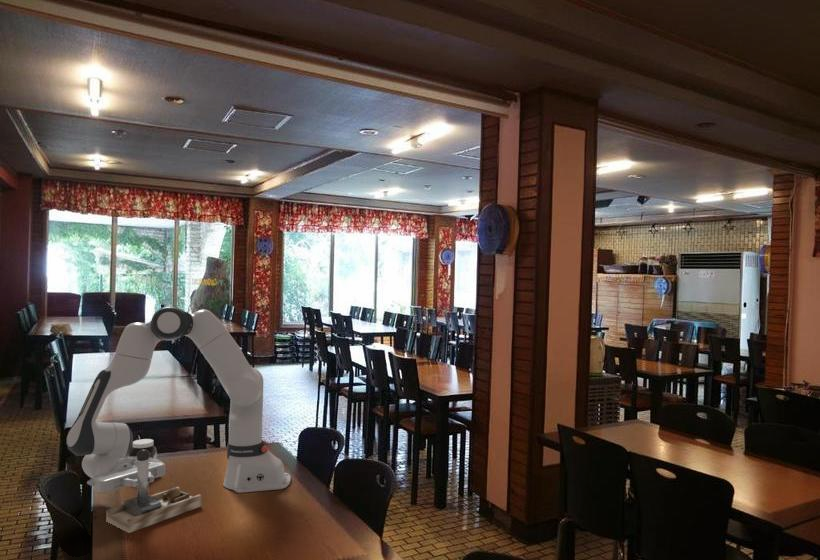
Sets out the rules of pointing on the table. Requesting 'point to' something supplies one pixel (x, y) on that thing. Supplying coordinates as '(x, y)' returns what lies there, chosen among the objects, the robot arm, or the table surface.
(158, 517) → the press base
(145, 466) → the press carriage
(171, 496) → the walnut
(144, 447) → the spread jar
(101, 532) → the table surface
